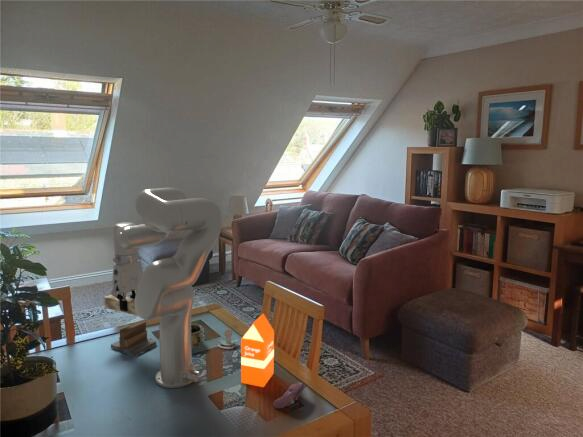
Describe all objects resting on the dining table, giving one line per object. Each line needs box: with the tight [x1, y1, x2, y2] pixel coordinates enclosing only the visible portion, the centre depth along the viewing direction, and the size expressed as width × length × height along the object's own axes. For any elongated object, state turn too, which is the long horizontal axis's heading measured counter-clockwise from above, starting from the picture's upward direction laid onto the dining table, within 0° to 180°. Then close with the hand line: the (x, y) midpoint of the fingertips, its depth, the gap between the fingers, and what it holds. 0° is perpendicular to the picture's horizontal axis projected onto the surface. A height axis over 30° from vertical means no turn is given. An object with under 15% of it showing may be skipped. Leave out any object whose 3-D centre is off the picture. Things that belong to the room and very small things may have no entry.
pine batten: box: [103, 294, 139, 317], centre depth 154 cm, size 20×4×4 cm, turn 63°
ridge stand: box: [110, 320, 157, 357], centre depth 157 cm, size 12×10×8 cm
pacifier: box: [217, 328, 239, 350], centre depth 159 cm, size 7×6×6 cm
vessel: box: [191, 323, 203, 350], centre depth 160 cm, size 12×9×6 cm
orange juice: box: [240, 313, 275, 388], centre depth 137 cm, size 8×9×20 cm
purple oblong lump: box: [273, 381, 306, 409], centre depth 125 cm, size 10×5×7 cm, turn 149°
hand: (129, 308), depth 154 cm, fingers closed on pine batten, 4 cm apart
